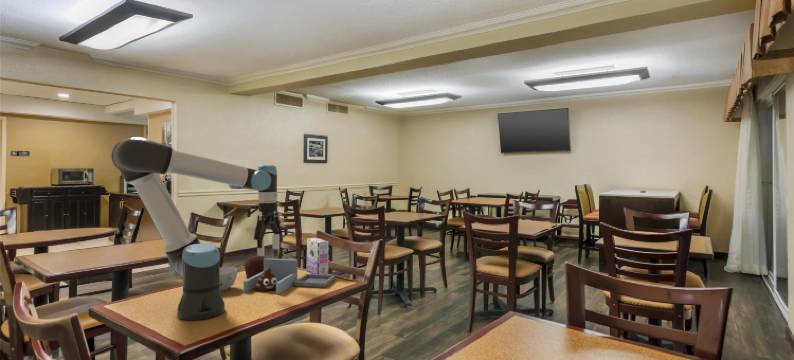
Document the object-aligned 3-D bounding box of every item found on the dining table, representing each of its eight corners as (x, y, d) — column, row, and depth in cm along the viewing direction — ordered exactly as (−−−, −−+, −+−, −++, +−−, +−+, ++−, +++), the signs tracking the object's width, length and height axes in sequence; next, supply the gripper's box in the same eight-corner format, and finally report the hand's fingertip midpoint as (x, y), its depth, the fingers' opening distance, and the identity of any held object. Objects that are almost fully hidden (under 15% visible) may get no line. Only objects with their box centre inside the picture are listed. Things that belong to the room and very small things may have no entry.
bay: (278, 294, 171) (278, 269, 171) (243, 292, 174) (243, 267, 173) (297, 281, 190) (297, 259, 190) (265, 280, 192) (265, 258, 192)
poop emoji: (276, 285, 185) (276, 263, 184) (282, 289, 178) (282, 267, 177) (252, 288, 179) (252, 266, 179) (258, 293, 172) (258, 270, 172)
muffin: (274, 276, 199) (274, 255, 199) (255, 281, 190) (255, 259, 189) (257, 273, 205) (257, 252, 205) (238, 278, 196) (238, 256, 195)
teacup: (199, 289, 176) (199, 270, 176) (226, 283, 187) (226, 265, 186) (219, 296, 168) (219, 276, 168) (247, 289, 178) (247, 270, 178)
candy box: (329, 275, 202) (329, 241, 202) (317, 277, 199) (317, 242, 198) (317, 269, 213) (317, 237, 213) (306, 271, 210) (306, 238, 210)
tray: (324, 288, 180) (324, 283, 180) (293, 286, 183) (293, 281, 183) (335, 279, 194) (335, 275, 194) (306, 278, 197) (306, 273, 196)
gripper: (262, 204, 164) (262, 259, 165) (288, 199, 189) (289, 246, 190) (244, 204, 166) (245, 258, 166) (273, 199, 190) (273, 246, 191)
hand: (268, 252), depth 178 cm, fingers open, 13 cm apart
